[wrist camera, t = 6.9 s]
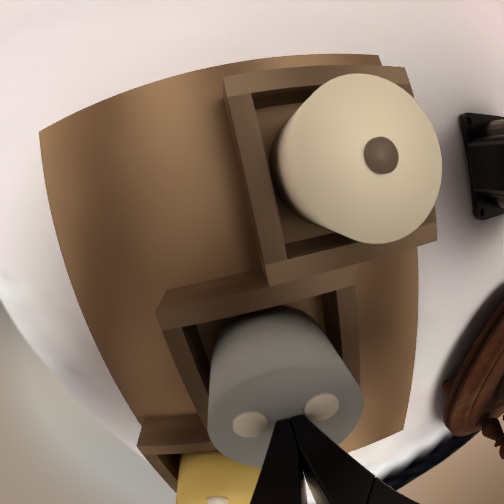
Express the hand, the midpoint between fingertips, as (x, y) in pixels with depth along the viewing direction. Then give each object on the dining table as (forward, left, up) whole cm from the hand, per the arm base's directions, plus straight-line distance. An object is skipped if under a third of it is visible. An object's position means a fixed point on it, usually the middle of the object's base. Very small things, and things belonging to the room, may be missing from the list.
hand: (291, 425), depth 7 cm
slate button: (0, 0, -4) cm, 4 cm away
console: (0, 0, -6) cm, 6 cm away
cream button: (-4, -7, -5) cm, 9 cm away
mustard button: (+4, +7, -5) cm, 9 cm away
